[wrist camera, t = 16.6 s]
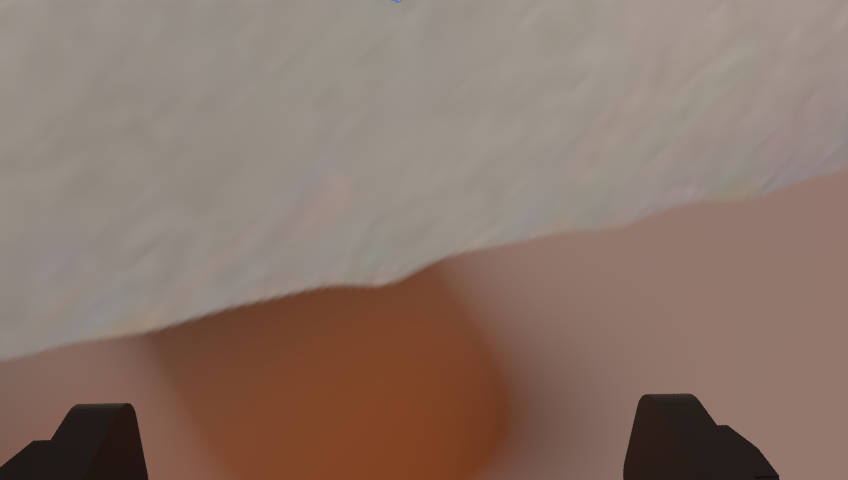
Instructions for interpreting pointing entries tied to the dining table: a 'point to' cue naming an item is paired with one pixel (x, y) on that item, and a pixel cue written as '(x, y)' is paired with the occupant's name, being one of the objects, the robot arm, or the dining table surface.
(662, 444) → the robot arm
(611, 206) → the dining table surface
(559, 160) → the dining table surface
